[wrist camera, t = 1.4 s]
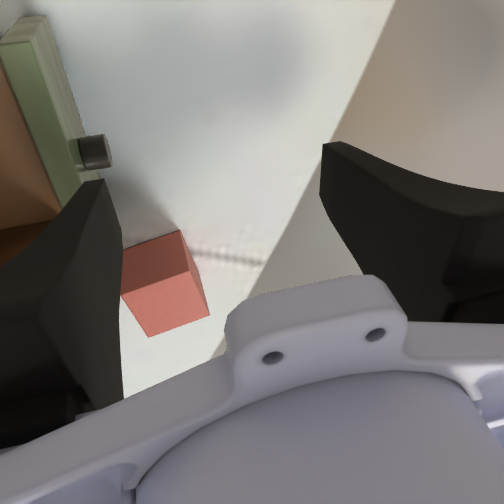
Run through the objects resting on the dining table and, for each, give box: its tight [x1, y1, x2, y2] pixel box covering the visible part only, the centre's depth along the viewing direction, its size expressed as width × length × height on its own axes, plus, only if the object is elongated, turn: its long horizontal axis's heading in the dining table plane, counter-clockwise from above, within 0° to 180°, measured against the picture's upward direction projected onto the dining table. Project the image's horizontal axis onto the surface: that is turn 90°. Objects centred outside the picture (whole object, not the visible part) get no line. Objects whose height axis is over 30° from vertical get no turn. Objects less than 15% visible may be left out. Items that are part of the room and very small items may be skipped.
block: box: [120, 230, 210, 338], centre depth 28 cm, size 4×4×4 cm
